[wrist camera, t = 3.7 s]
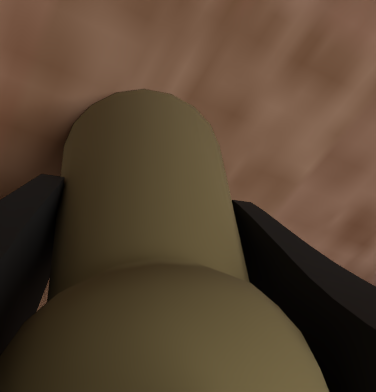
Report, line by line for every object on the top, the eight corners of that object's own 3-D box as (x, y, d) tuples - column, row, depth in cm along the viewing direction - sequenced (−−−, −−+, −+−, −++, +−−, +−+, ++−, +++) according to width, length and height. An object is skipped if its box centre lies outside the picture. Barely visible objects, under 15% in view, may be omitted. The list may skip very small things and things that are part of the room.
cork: (159, 254, 15) (201, 660, 6) (31, 185, 13) (-246, 694, 3) (252, 153, 13) (526, 513, 4) (122, 50, 11) (53, 360, 2)
